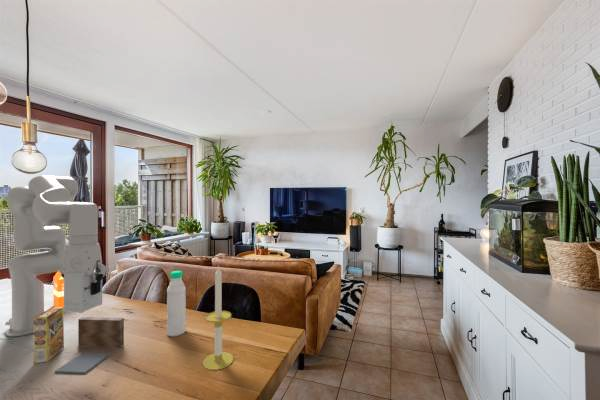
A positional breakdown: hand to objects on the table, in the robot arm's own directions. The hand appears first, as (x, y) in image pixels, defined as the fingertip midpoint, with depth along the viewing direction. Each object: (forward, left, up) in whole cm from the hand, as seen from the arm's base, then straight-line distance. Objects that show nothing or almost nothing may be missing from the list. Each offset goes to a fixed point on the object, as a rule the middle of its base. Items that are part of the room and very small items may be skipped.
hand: (83, 292), depth 90 cm
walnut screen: (-3, +11, -23) cm, 26 cm away
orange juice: (-52, +47, -24) cm, 74 cm away
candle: (+44, +4, -24) cm, 50 cm away
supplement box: (0, 0, -5) cm, 5 cm away
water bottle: (+20, +22, -24) cm, 38 cm away
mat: (0, 0, -23) cm, 23 cm away
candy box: (-16, +4, -24) cm, 29 cm away
